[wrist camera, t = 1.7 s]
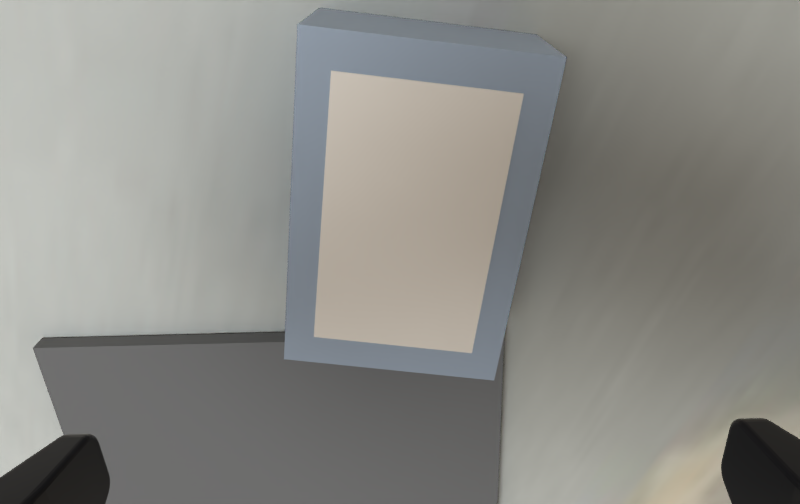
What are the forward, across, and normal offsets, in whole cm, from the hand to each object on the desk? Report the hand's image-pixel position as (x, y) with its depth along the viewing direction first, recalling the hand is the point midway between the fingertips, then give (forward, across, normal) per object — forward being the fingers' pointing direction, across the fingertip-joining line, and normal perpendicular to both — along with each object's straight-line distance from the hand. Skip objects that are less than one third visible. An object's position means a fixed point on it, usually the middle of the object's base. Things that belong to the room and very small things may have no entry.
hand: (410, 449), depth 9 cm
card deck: (+12, 0, 0) cm, 12 cm away
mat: (+12, +5, +10) cm, 16 cm away
